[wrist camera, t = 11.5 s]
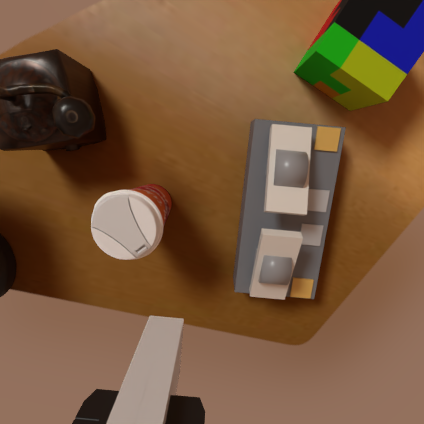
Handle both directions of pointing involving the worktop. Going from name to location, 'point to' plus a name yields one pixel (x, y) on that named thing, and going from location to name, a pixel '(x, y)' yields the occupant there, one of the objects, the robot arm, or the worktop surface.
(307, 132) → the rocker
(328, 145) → the console
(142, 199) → the coffee cup
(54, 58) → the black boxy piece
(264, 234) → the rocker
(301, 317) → the worktop surface
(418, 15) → the puzzle toy
